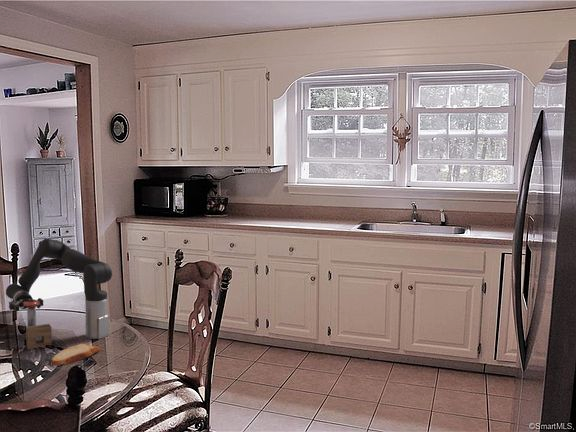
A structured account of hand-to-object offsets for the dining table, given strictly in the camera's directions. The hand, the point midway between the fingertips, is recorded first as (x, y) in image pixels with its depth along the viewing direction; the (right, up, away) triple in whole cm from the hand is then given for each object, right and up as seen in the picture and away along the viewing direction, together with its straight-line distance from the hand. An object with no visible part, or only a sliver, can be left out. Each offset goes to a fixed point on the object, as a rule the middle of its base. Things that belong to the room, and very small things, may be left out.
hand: (28, 307), depth 238 cm
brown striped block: (+13, -13, -18) cm, 26 cm away
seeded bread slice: (+33, -16, -28) cm, 46 cm away
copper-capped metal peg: (+6, -11, -7) cm, 14 cm away
